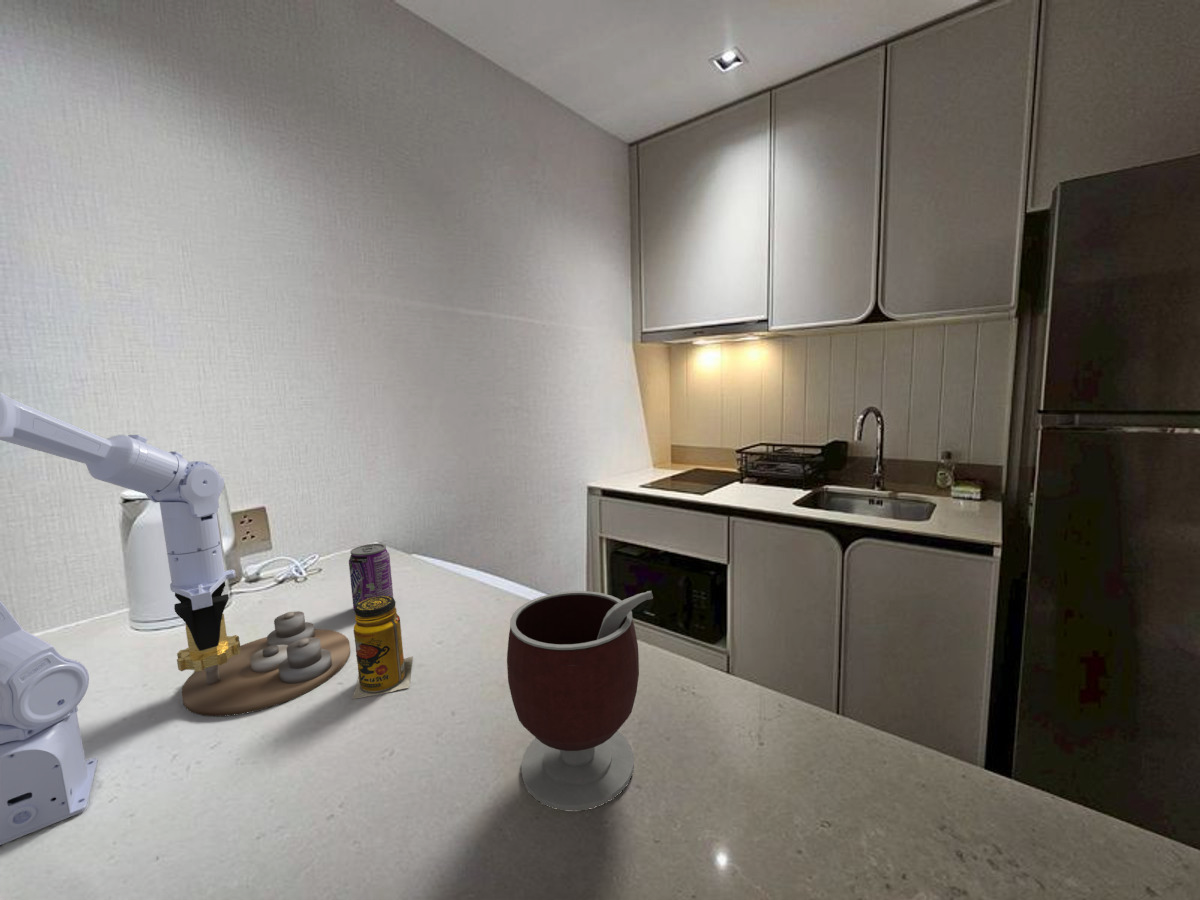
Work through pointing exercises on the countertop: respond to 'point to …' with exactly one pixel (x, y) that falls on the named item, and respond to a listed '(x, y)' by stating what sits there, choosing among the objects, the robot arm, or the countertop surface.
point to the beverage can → (370, 572)
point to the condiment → (379, 648)
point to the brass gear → (208, 652)
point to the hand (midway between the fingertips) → (207, 641)
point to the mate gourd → (575, 694)
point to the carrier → (268, 669)
